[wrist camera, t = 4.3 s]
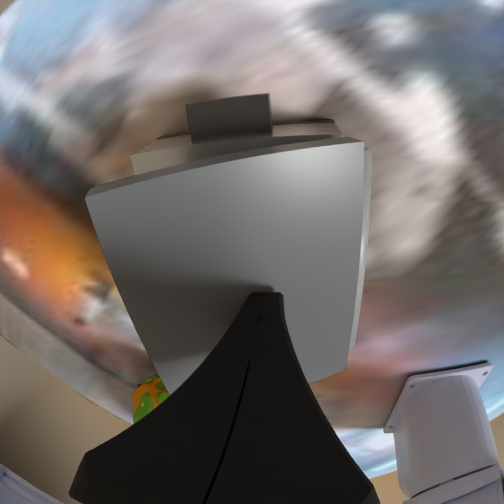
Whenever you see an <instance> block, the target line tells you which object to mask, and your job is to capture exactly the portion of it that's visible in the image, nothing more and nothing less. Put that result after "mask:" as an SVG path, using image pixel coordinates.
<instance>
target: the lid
mask: <svg viewBox="0 0 504 504" xmlns="http://www.w3.org/2000/svg"><path fill="white" fill-rule="evenodd" d="M371 158H372V150H371V149H368V148H364V141H361V140H357V139H354V138H351V137H342V138H332V139H323V140H315V141H307V142H300V143H292V144H285V145H279V146H272V147H266V148H260V149H254V150H248V151H242V152H237V153H232V154H226V155H221V156H216V157H211V158H206V159H202V160H197V161H192V162H188V163H183V164H179V165H175V166H170V167H166V168H162V169H158V170H154V171H150V172H146V173H142V174H138V175H135V176H131V177H127V178H124V179H120V180H117V181H113V182H110V183H106V184H103V185H99V186H96V187H93V188H90V190H89V192H88V193H87V195H86V196H85V200H86V204H87V207H88V210H89V213H90V216H91V219H92V222H93V225H94V228H95V231H96V234H97V237H98V239H99V242H100V245H101V248H102V250H103V253H104V256H105V258H106V261H107V264H108V266H109V269H110V271H111V274H112V276H113V279H114V281H115V284H116V286H117V288H118V291H119V293H120V295H121V298H122V300H123V302H124V305H125V307H126V309H127V311H128V314H129V316H130V318H131V320H132V322H133V324H134V327H135V329H136V331H137V333H138V335H139V337H140V339H141V341H142V343H143V345H144V347H145V349H146V351H147V353H148V355H149V357H150V359H151V361H152V363H153V365H154V367H155V369H156V371H157V372H158V374H159V376H160V378H161V380H162V382H163V384H164V385H165V387H166V389H167V391H168V392H169V394H170V395H171V394H172V393H173V392H174V391H175V390H176V389H177V388H178V387H179V386H180V385H181V384H182V383H183V382H184V381H185V380H186V379H187V378H188V377H189V376H190V375H191V374H192V373H193V372H194V371H195V370H196V369H197V368H198V367H199V365H200V364H201V363H202V362H203V361H204V359H205V358H206V357H207V356H208V355H209V353H210V352H211V351H212V350H213V348H214V347H215V346H216V345H217V343H218V342H219V341H220V339H221V338H222V336H223V335H224V334H225V332H226V331H227V329H228V328H229V327H230V325H231V324H232V322H233V321H234V319H235V318H236V316H237V314H238V313H239V311H240V310H241V308H242V306H243V305H244V303H245V301H246V299H247V297H248V296H249V295H250V294H251V293H254V292H280V293H281V294H283V296H284V311H285V319H286V324H287V328H288V331H289V335H290V338H291V341H292V344H293V347H294V350H295V353H296V356H297V358H298V361H299V363H300V366H301V368H302V371H303V373H304V375H305V378H306V380H307V382H308V384H311V383H313V382H316V381H319V380H321V379H324V378H326V377H329V376H331V375H334V374H336V373H339V372H341V371H344V370H345V369H346V364H347V358H348V352H349V351H352V350H353V349H354V346H355V340H356V334H357V327H358V321H359V314H360V307H361V300H362V292H363V283H364V275H365V265H366V255H367V244H368V231H369V216H370V196H371Z"/></svg>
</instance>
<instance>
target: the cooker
mask: <svg viewBox="0 0 504 504" xmlns="http://www.w3.org/2000/svg"><path fill="white" fill-rule="evenodd" d="M186 111H187V117H188V123H189V129H190V131H188V132H182V133H176V134H170V135H164V136H160V137H158V138H157V140H156V141H154V142H152V143H150V144H148V145H147V146H145V147H143V148H141V149H140V150H138V151H136V152H134V153H133V154H131V155H130V159H131V163H132V168H133V172H134V176H135V175H138V174H142V173H146V172H150V171H154V170H158V169H162V168H166V167H170V166H175V165H179V164H183V163H188V162H192V161H197V160H202V159H206V158H211V157H216V156H221V155H226V154H232V153H237V152H242V151H248V150H254V149H260V148H266V147H272V146H279V145H285V144H292V143H300V142H307V141H315V140H323V139H332V138H342V137H343V133H342V132H341V131H340V130H339V129H338V127H337V126H336V125H335V124H334V120H301V121H282V122H273V121H272V112H271V102H270V93H263V94H253V95H243V96H235V97H227V98H219V99H212V100H206V101H199V102H193V103H189V104H186Z"/></svg>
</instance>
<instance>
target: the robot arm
mask: <svg viewBox="0 0 504 504" xmlns="http://www.w3.org/2000/svg"><path fill="white" fill-rule="evenodd" d="M491 369H492V364H491V363H484V364H479V365H474V366H469V367H464V368H458V369H452V370H446V371H440V372H433V373H426V374H419V375H413V376H410V377H409V378H408V379H407V381H406V383H405V385H404V388H403V390H402V392H401V394H400V397H399V399H398V401H397V403H396V405H395V407H394V409H393V411H392V413H391V415H390V417H389V419H388V421H387V423H386V425H385V427H384V433H393V434H394V442H395V451H396V460H397V471H398V481H399V486H400V488H401V490H402V491H403V493H404V494H405V495H406V496H407V497H408V498H410V499H409V500H405V501H403V504H504V470H503V468H502V467H501V466H500V463H499V458H498V454H497V450H496V446H495V442H494V438H493V434H492V430H491V427H490V423H489V420H488V416H487V413H486V410H485V407H484V404H483V400H482V397H481V394H480V391H479V387H480V386H481V384H482V383H483V381H484V380H485V378H486V377H487V375H488V374H489V372H490V371H491ZM69 495H70V497H71V498H73V499H75V500H77V501H78V502H80V503H82V504H380V501H379V498H378V496H377V493H376V491H375V488H374V486H373V484H372V483H371V482H370V480H369V479H368V478H367V477H366V475H365V474H364V473H363V472H362V470H361V469H360V468H359V466H358V465H357V464H356V462H355V461H354V460H353V458H352V457H351V455H350V454H349V453H348V451H347V450H346V448H345V447H344V445H343V444H342V442H341V441H340V439H339V438H338V436H337V435H336V433H335V431H334V430H333V428H332V426H331V425H330V423H329V421H328V420H327V418H326V416H325V415H324V413H323V411H322V410H321V408H320V406H319V404H318V402H317V400H316V398H315V396H314V394H313V392H312V390H311V388H310V386H309V384H308V382H307V380H306V378H305V375H304V373H303V371H302V368H301V366H300V363H299V361H298V358H297V356H296V353H295V350H294V347H293V344H292V341H291V338H290V335H289V331H288V328H287V324H286V319H285V311H284V296H283V294H281V293H280V292H254V293H251V294H250V295H249V296H248V297H247V299H246V301H245V303H244V305H243V306H242V308H241V310H240V311H239V313H238V314H237V316H236V318H235V319H234V321H233V322H232V324H231V325H230V327H229V328H228V329H227V331H226V332H225V334H224V335H223V336H222V338H221V339H220V341H219V342H218V343H217V345H216V346H215V347H214V348H213V350H212V351H211V352H210V353H209V355H208V356H207V357H206V358H205V359H204V361H203V362H202V363H201V364H200V365H199V367H198V368H197V369H196V370H195V371H194V372H193V373H192V374H191V375H190V376H189V377H188V378H187V379H186V380H185V381H184V382H183V383H182V384H181V385H180V386H179V387H178V388H177V389H176V390H175V391H174V392H173V393H172V394H171V395H170V396H169V397H167V398H166V399H165V400H164V401H163V402H162V403H161V404H159V405H158V406H157V407H156V408H155V409H153V410H152V411H151V412H150V413H148V414H147V415H145V416H144V417H143V418H141V419H140V420H139V421H137V422H136V423H134V424H133V425H132V426H130V427H129V428H128V429H126V430H124V431H123V432H121V433H120V434H118V435H117V436H115V437H113V438H112V439H110V440H108V441H106V442H104V443H103V444H101V445H99V446H97V447H96V448H94V449H92V450H90V451H88V452H87V453H85V455H84V457H83V459H82V461H81V463H80V465H79V467H78V470H77V473H76V475H75V478H74V481H73V483H72V485H71V488H70V491H69ZM0 504H64V503H62V502H60V501H58V500H56V499H54V498H53V497H51V496H49V495H47V494H45V493H44V492H42V491H40V490H39V489H37V488H35V487H34V486H32V485H30V483H28V482H27V481H25V480H24V479H22V478H21V477H19V476H18V475H16V474H14V473H13V472H12V471H10V470H9V469H7V468H6V467H5V466H3V465H1V464H0Z"/></svg>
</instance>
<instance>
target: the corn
mask: <svg viewBox="0 0 504 504" xmlns="http://www.w3.org/2000/svg"><path fill="white" fill-rule="evenodd" d="M138 387H139V388H138V389H136V390H135V391H134V392H133V393H132V395H133V420H134V423H136V422H137V421H139V420H140V419H141V418H143V417H144V416H145V415H147V414H148V413H150V412H151V411H152V410H153V409H155V408H156V407H157V406H158V405H159V404H161V403H162V402H163V401H164V400H165V399H166V398H167V397H169V396H170V394H169V392H168V391H167V389H166V387H165V385H164V384H163V382H162V380H161V378H160V376H159V374H158V375H155V376H151V377H149V378H147V379H146V380H144V381H142V382H141V383H139V384H138Z"/></svg>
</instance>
